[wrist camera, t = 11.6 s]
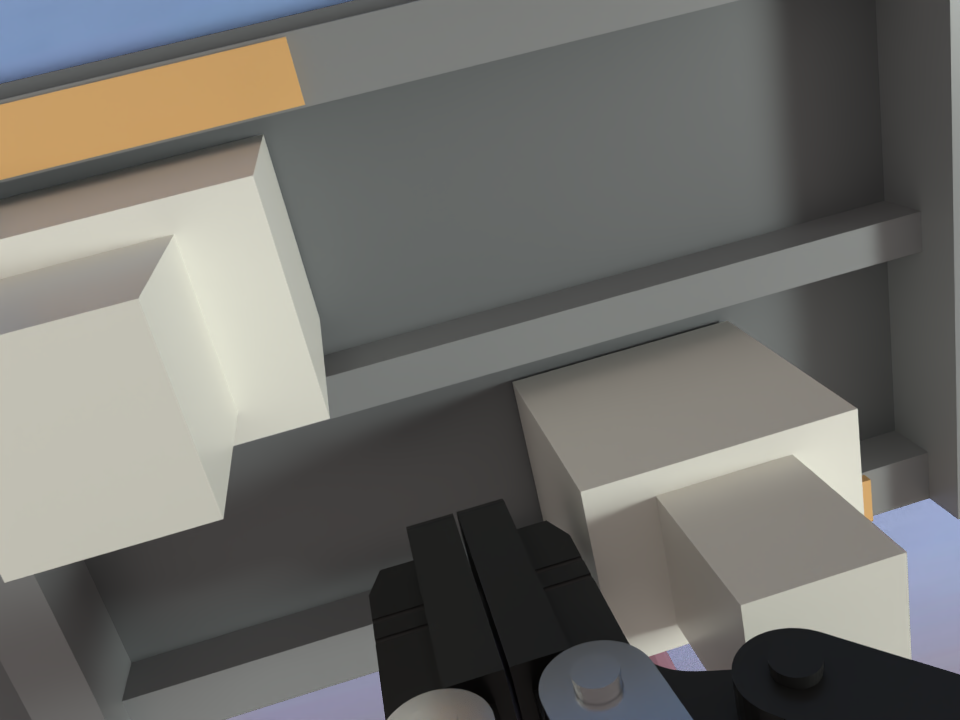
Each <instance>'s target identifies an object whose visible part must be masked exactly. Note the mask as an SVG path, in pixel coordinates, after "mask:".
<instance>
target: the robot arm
mask: <svg viewBox="0 0 960 720" xmlns="http://www.w3.org/2000/svg"><path fill="white" fill-rule="evenodd" d="M456 513H457V518H458V522H459V526H460V529H461V533H462V537H463V541H464V545H465V548H466V552H467V555H466V552H465V549H464V546H463V543H462V540H461V537H460V534H459V531H458V528H457V525H456V522H455V519H454V516H453V513H452V514H448V515H445V516H442V517H438V518H435V519H432V520H428V521H425V522H421V523H418V524H415V525H411V526H408V527H406V530H407V534H408V539H409V543H410V547H411V552H412V556H413V560H412V561H409V562H406V563H402V564H399V565H396V566H392V567H389V568H386V569H382V570H380V571H379V574H378V576H377V578H376V580H375V583H374V585H373V587H372V589H371V592H370V594H369V601H370V608H371V615H372V621H373V630H374V638H375V642H376V652H377V660H378V667H379V675H380V682H381V689H382V697H383V704H384V712H385V720H960V675H959V674H956V673H953V672H950V671H946V670H943V669H940V668H937V667H933V666H930V665H927V664H923V663H920V662H917V661H914V660H910V659H907V658H904V657H901V656H897V655H894V654H891V653H888V652H884V651H881V650H878V649H875V648H871V647H868V646H865V645H862V644H858V643H855V642H852V641H848V640H845V639H842V638H839V637H835V636H832V635H829V634H826V633H822V632H819V631H815V630H810V629H803V628H783V629H776V630H771V631H767V632H764V633H762V634H759V635H757V636H755V637H753V638H751V639H750V640H748V641H747V642H746V643H745V644H743V645H742V647H741V648H740V649H739V650H738V651H737V653H736V655H735V656H734V659H733V662H732V670H714V671H679V670H673V669H669V668H664V667H662V666H659V665H656V664H654V663H653V662H652V660H651V659H650V658H649V657H648V656H647V655H646V654H645V653H644V652H642V651H641V650H640V649H638V648H636V647H634V646H632V645H630V644H629V642H628V641H627V639H626V637H625V635H624V633H623V632H622V630H621V628H620V626H619V624H618V622H617V621H616V619H615V617H614V615H613V613H612V611H611V610H610V608H609V606H608V604H607V602H606V600H605V599H604V597H603V595H602V593H601V591H600V589H599V588H598V586H597V584H596V582H595V580H594V578H592V576H591V573H590V571H589V569H588V567H587V566H586V564H585V562H584V560H582V557H581V555H580V553H579V551H578V549H577V547H576V545H575V544H574V542H573V540H572V538H571V536H570V535H569V534H568V533H566V532H564V531H563V530H561V529H560V528H558V527H556V526H555V525H553V524H551V523H550V522H548V521H547V520H546V521H542V522H539V523H536V524H532V525H529V526H525V527H522V528H519V529H517V528H516V526H515V524H514V522H513V520H512V517H511V515H510V513H509V511H508V508H507V506H506V504H505V502H504V500H503V499H499V500H495V501H492V502H489V503H485V504H482V505H478V506H475V507H472V508H468V509H465V510H461V511H458V512H456ZM467 556H468V558H467ZM468 560H469V561H468Z"/></svg>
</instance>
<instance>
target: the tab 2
mask: <svg viewBox="0 0 960 720" xmlns="http://www.w3.org/2000/svg"><path fill="white" fill-rule="evenodd" d="M512 383H513V388H514V392H515V397H516V401H517V406H518V410H519V415H520V419H521V423H522V428H523V432H524V437H525V441H526V446H527V450H528V455H529V459H530V464H531V468H532V472H533V477H534V481H535V486H536V490H537V495H538V499H539V504H540V508H541V513H542V517H543V521H546V520H547V521H548V522H550V523H551V524H553V525H555V526H556V527H558V528H560V529H561V530H563V531H564V532H566V533H568V534H569V535H570V536H571V538H572V540H573V542H574V544H575V545H576V547H577V549H578V551H579V553H580V555H581V557H582V560H584V562H585V564H586V566H587V567H588V569H589V571H590V573H591V576H592V578H594V580H595V582H596V584H597V586H598V588H599V589H600V591H601V593H602V595H603V597H604V599H605V600H606V602H607V604H608V606H609V608H610V610H611V611H612V613H613V615H614V617H615V619H616V621H617V622H618V624H619V626H620V628H621V630H622V632H623V633H624V635H625V637H626V639H627V641H628V642H629V644H630V645H632V646H634V647H636V648H638V649H640V650H641V651H642V652H644V653H645V654H646V655H647V656H648V657H649V656H652V655H655V654H658V653H661V652H664V651H668V650H671V649H674V648H677V647H680V646H683V645H686V644H690V645H691V647H692V648H693V650H694V652H695V653H696V655H697V656H698V658H699V659H700V661H701V662H702V664H703V666H704V667H705V669H706V670H707V671H714V670H732V662H733V659H734V656H735V655H736V653H737V651H738V650H739V649H740V648H741V647H742V645H743V644H745V643H746V642H747V641H748V640H750V639H751V638H753V637H755V636H757V635H759V634H762V633H764V632H767V631H771V630H776V629H783V628H803V629H810V630H815V631H819V632H822V633H826V634H829V635H832V636H835V637H839V638H842V639H845V640H848V641H852V642H855V643H858V644H862V645H865V646H868V647H871V648H875V649H878V650H881V651H884V652H888V653H891V654H894V655H897V656H901V657H904V658H907V659H910V660H911V639H910V615H909V592H908V568H907V552H906V551H905V550H904V549H903V548H901V547H900V546H899V545H898V544H897V543H895V542H894V541H893V540H892V539H891V538H890V537H888V536H887V535H886V534H885V533H884V532H883V531H881V530H880V529H879V528H878V527H877V526H876V525H874V524H873V523H872V522H871V521H870V520H869V519H867V518H866V517H865V516H864V503H863V487H862V471H861V455H860V439H859V424H858V409H857V408H856V407H854V406H853V405H851V404H850V403H848V402H847V401H845V400H844V399H842V398H841V397H840V396H838V395H837V394H835V393H834V392H832V391H831V390H829V389H828V388H826V387H825V386H823V385H822V384H820V383H819V382H817V381H816V380H814V379H813V378H811V377H810V376H808V375H807V374H806V373H804V372H803V371H801V370H800V369H798V368H797V367H795V366H794V365H792V364H791V363H789V362H788V361H786V360H785V359H783V358H782V357H780V356H779V355H777V354H776V353H774V352H773V351H772V350H770V349H769V348H767V347H766V346H764V345H763V344H761V343H760V342H758V341H757V340H755V339H754V338H752V337H751V336H749V335H748V334H746V333H745V332H743V331H742V330H740V329H739V328H738V327H736V326H735V325H733V324H732V323H730V322H729V321H724V322H721V323H717V324H714V325H710V326H707V327H703V328H700V329H696V330H693V331H689V332H686V333H682V334H679V335H675V336H672V337H668V338H665V339H661V340H658V341H654V342H650V343H647V344H643V345H640V346H636V347H633V348H629V349H626V350H622V351H619V352H615V353H612V354H608V355H605V356H601V357H598V358H594V359H591V360H587V361H584V362H580V363H577V364H573V365H570V366H566V367H563V368H559V369H556V370H552V371H549V372H545V373H542V374H538V375H535V376H531V377H528V378H524V379H521V380H517V381H514V382H512Z"/></svg>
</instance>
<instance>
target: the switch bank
mask: <svg viewBox="0 0 960 720" xmlns="http://www.w3.org/2000/svg"><path fill="white" fill-rule="evenodd" d="M262 134H263V135H264V138H265V142H266V145H267V148H268V151H269V155H270V158H271V161H272V164H273V168H274V171H275V174H276V178H277V181H278V184H279V187H280V191H281V194H282V197H283V200H284V204H285V207H286V210H287V213H288V217H289V220H290V223H291V227H292V230H293V233H294V236H295V240H296V243H297V246H298V249H299V253H300V256H301V259H302V263H303V266H304V269H305V272H306V276H307V279H308V282H309V285H310V289H311V292H312V295H313V298H314V302H315V305H316V308H317V312H318V315H319V318H320V326H321V336H322V345H323V355H324V365H325V375H326V385H327V395H328V405H329V415H330V419H327V420H323V421H320V422H316V423H313V424H309V425H306V426H302V427H298V428H295V429H291V430H288V431H284V432H281V433H277V434H274V435H270V436H267V437H263V438H260V439H256V440H253V441H249V442H246V443H242V444H239V445H235V446H233V451H232V459H231V466H230V474H229V481H228V488H227V496H226V503H225V510H224V518H223V519H222V520H218V521H215V522H211V523H208V524H205V525H201V526H198V527H194V528H191V529H187V530H184V531H181V532H177V533H174V534H170V535H167V536H163V537H160V538H157V539H153V540H150V541H146V542H143V543H139V544H136V545H133V546H129V547H126V548H122V549H119V550H115V551H112V552H109V553H105V554H102V555H98V556H95V557H91V558H88V559H84V560H81V561H78V562H74V563H71V564H67V565H64V566H60V567H57V568H54V569H50V570H47V571H43V572H40V573H36V574H33V575H30V576H26V577H23V578H19V579H16V580H12V581H9V582H6V583H4V581H3V579H2V577H1V575H0V720H225V719H228V718H231V717H234V716H238V715H241V714H244V713H247V712H250V711H253V710H257V709H260V708H263V707H266V706H269V705H273V704H276V703H279V702H282V701H285V700H288V699H292V698H295V697H298V696H301V695H304V694H308V693H311V692H314V691H317V690H320V689H323V688H327V687H330V686H333V685H336V684H339V683H343V682H346V681H349V680H352V679H355V678H358V677H362V676H365V675H368V674H371V673H374V672H378V671H379V667H378V660H377V652H376V642H375V638H374V630H373V621H372V615H371V608H370V601H369V594H370V592H371V589H372V587H373V585H374V583H375V580H376V578H377V576H378V574H379V571H380V570H382V569H386V568H389V567H392V566H396V565H399V564H402V563H406V562H409V561H412V560H413V556H412V552H411V547H410V543H409V539H408V534H407V530H406V527H408V526H411V525H415V524H418V523H421V522H425V521H428V520H432V519H435V518H438V517H442V516H445V515H448V514H452V513H453V516H454V519H455V522H456V525H457V528H458V531H459V534H460V537H461V540H462V543H463V546H464V549H465V552H466V548H465V545H464V541H463V537H462V533H461V529H460V526H459V522H458V518H457V513H456V512H458V511H461V510H465V509H468V508H472V507H475V506H478V505H482V504H485V503H489V502H492V501H495V500H499V499H503V500H504V502H505V504H506V506H507V508H508V511H509V513H510V515H511V517H512V520H513V522H514V524H515V526H516V528H517V529H519V528H522V527H525V526H529V525H532V524H536V523H539V522H542V521H543V517H542V513H541V508H540V504H539V499H538V495H537V490H536V486H535V481H534V477H533V472H532V468H531V464H530V459H529V455H528V450H527V446H526V441H525V437H524V432H523V428H522V423H521V419H520V415H519V410H518V406H517V401H516V397H515V392H514V388H513V383H512V382H514V381H517V380H521V379H524V378H528V377H531V376H535V375H538V374H542V373H545V372H549V371H552V370H556V369H559V368H563V367H566V366H570V365H573V364H577V363H580V362H584V361H587V360H591V359H594V358H598V357H601V356H605V355H608V354H612V353H615V352H619V351H622V350H626V349H629V348H633V347H636V346H640V345H643V344H647V343H650V342H654V341H658V340H661V339H665V338H668V337H672V336H675V335H679V334H682V333H686V332H689V331H693V330H696V329H700V328H703V327H707V326H710V325H714V324H717V323H721V322H724V321H729V322H730V323H732V324H733V325H735V326H736V327H738V328H739V329H740V330H742V331H743V332H745V333H746V334H748V335H749V336H751V337H752V338H754V339H755V340H757V341H758V342H760V343H761V344H763V345H764V346H766V347H767V348H769V349H770V350H772V351H773V352H774V353H776V354H777V355H779V356H780V357H782V358H783V359H785V360H786V361H788V362H789V363H791V364H792V365H794V366H795V367H797V368H798V369H800V370H801V371H803V372H804V373H806V374H807V375H808V376H810V377H811V378H813V379H814V380H816V381H817V382H819V383H820V384H822V385H823V386H825V387H826V388H828V389H829V390H831V391H832V392H834V393H835V394H837V395H838V396H840V397H841V398H842V399H844V400H845V401H847V402H848V403H850V404H851V405H853V406H854V407H856V408H857V409H858V424H859V439H860V455H861V471H862V487H863V503H864V516H865V517H866V518H867V519H869V520H870V521H873V516H874V515H877V514H880V513H884V512H887V511H890V510H893V509H896V508H899V507H903V506H906V505H909V504H912V503H915V502H919V501H922V500H925V499H928V498H930V499H932V500H933V501H934V502H936V503H937V504H938V505H940V506H941V507H942V508H944V509H945V510H946V511H948V512H949V513H950V514H952V515H953V516H955V517H956V518H957V519H960V0H354V1H350V2H346V3H341V4H337V5H333V6H329V7H324V8H320V9H316V10H312V11H308V12H303V13H299V14H295V15H291V16H286V17H282V18H278V19H274V20H269V21H265V22H261V23H257V24H252V25H248V26H244V27H240V28H236V29H231V30H227V31H223V32H219V33H214V34H210V35H206V36H202V37H197V38H193V39H189V40H185V41H180V42H176V43H172V44H168V45H164V46H159V47H155V48H151V49H147V50H142V51H138V52H134V53H130V54H125V55H121V56H117V57H113V58H108V59H104V60H100V61H96V62H92V63H87V64H83V65H79V66H75V67H70V68H66V69H62V70H58V71H53V72H49V73H45V74H41V75H36V76H32V77H28V78H24V79H20V80H15V81H11V82H7V83H3V84H0V200H1V199H5V198H9V197H13V196H17V195H21V194H25V193H29V192H33V191H37V190H41V189H45V188H49V187H53V186H57V185H61V184H65V183H69V182H73V181H77V180H81V179H85V178H89V177H93V176H97V175H101V174H105V173H109V172H113V171H117V170H121V169H126V168H130V167H134V166H138V165H142V164H146V163H150V162H154V161H158V160H162V159H166V158H170V157H174V156H178V155H182V154H186V153H190V152H194V151H198V150H202V149H206V148H210V147H214V146H218V145H222V144H226V143H230V142H234V141H238V140H242V139H246V138H250V137H254V136H258V135H262ZM466 555H467V552H466ZM467 558H468V556H467ZM468 561H469V560H468Z"/></svg>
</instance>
